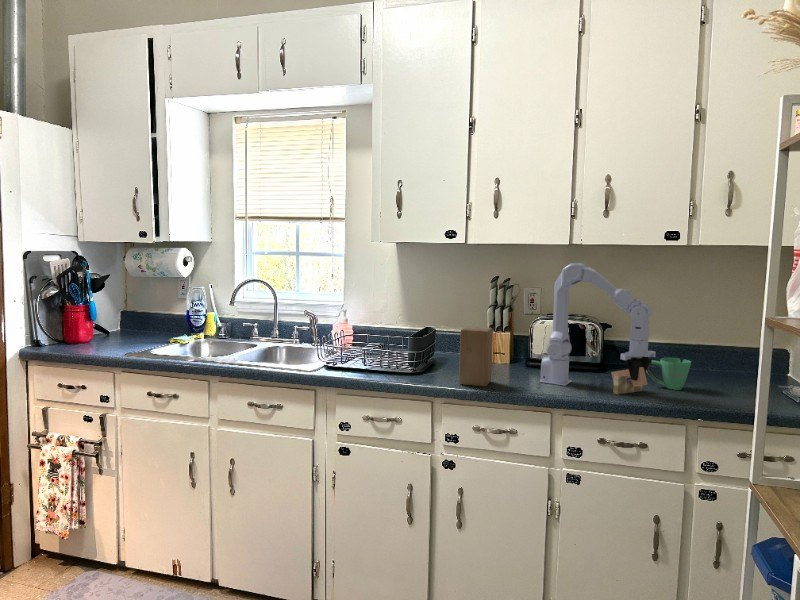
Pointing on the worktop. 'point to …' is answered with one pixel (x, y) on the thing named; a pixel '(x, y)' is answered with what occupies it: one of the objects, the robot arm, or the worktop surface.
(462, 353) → the wooden block
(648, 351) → the robot arm
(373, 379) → the worktop surface
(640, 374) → the tan flat notched board
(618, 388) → the tan notched block
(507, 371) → the worktop surface
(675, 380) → the mug
